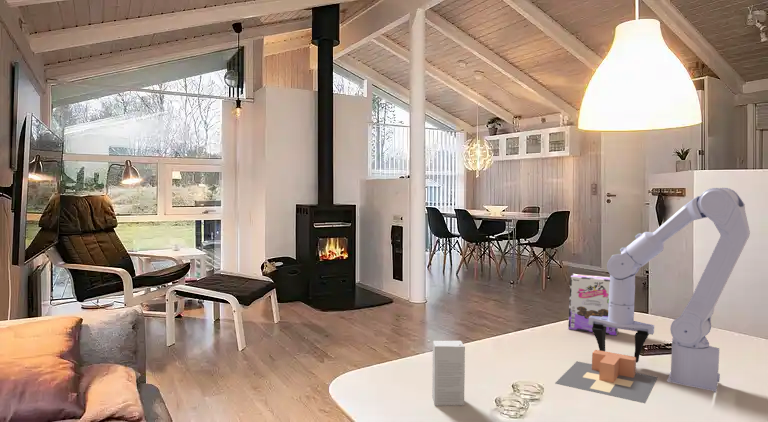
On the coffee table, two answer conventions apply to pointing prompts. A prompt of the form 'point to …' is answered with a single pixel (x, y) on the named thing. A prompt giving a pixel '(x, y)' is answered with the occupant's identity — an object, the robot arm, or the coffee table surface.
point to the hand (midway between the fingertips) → (619, 358)
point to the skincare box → (448, 373)
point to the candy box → (588, 301)
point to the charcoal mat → (608, 383)
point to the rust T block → (613, 365)
